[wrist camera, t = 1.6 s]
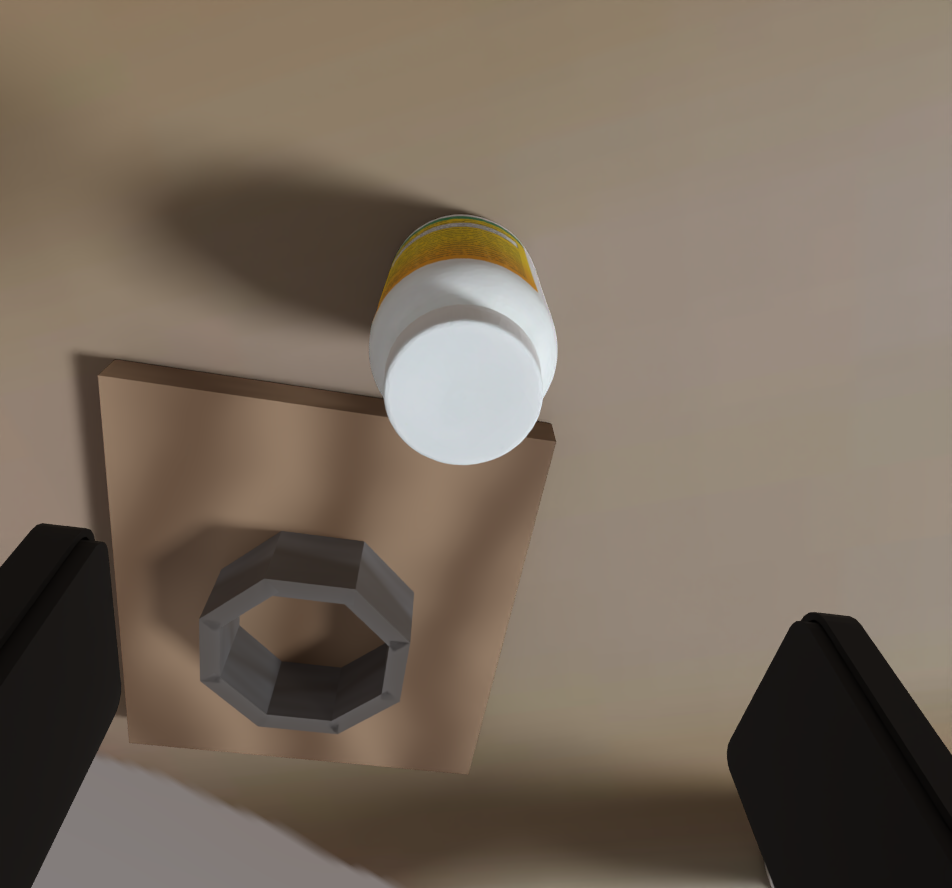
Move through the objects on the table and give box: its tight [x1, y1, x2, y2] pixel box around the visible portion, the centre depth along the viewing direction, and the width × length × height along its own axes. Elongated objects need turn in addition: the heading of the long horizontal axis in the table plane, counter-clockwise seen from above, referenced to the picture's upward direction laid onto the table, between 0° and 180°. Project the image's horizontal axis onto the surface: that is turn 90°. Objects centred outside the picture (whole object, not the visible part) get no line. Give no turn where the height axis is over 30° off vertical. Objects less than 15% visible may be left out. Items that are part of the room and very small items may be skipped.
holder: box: [98, 359, 556, 774], centre depth 31 cm, size 17×20×4 cm
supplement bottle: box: [369, 214, 558, 465], centre depth 22 cm, size 5×5×10 cm
